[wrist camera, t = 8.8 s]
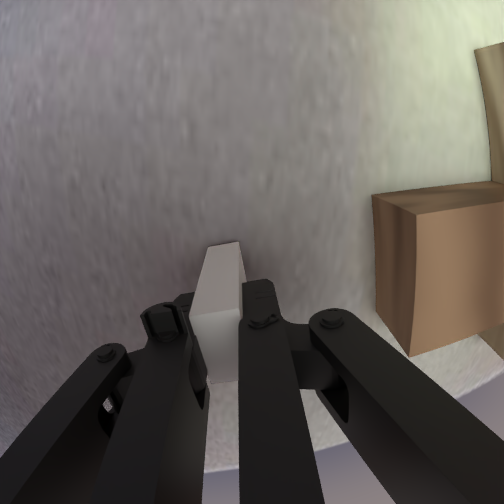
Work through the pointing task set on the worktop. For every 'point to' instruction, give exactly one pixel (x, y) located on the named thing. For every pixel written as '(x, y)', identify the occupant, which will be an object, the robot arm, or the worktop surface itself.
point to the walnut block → (439, 263)
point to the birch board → (494, 141)
